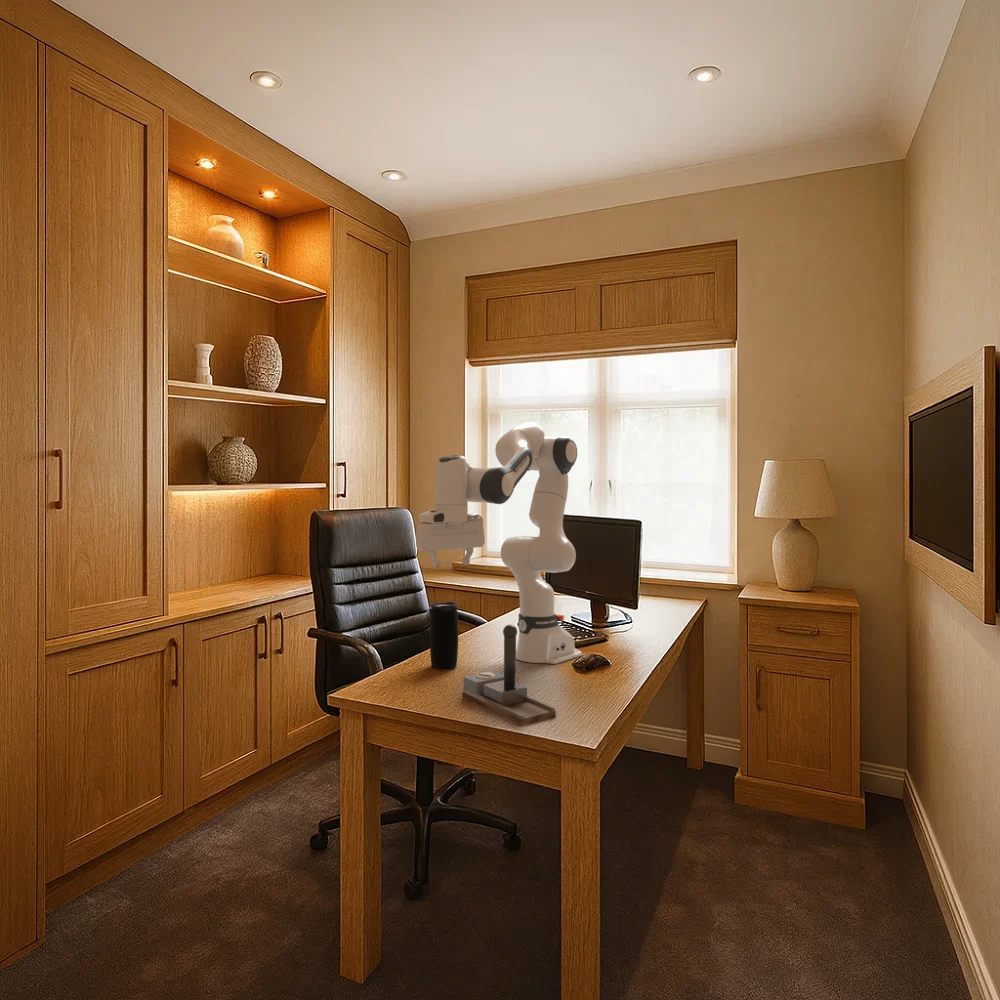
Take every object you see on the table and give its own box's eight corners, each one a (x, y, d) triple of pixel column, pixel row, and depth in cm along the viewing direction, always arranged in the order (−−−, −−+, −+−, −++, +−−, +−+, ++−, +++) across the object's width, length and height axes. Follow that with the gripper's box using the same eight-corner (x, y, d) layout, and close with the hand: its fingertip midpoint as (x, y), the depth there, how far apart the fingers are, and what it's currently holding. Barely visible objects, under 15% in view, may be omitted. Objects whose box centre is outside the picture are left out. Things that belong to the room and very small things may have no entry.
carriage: (508, 692, 183) (508, 618, 182) (527, 700, 176) (527, 624, 176) (483, 698, 178) (483, 622, 177) (501, 706, 172) (502, 628, 171)
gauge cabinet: (494, 685, 189) (494, 668, 189) (507, 690, 185) (507, 673, 184) (463, 691, 184) (463, 674, 183) (476, 697, 179) (476, 680, 179)
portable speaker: (453, 661, 218) (454, 600, 218) (461, 669, 210) (461, 605, 209) (426, 663, 216) (427, 601, 215) (433, 672, 207) (433, 606, 206)
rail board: (496, 690, 190) (496, 682, 190) (555, 716, 170) (555, 707, 170) (462, 697, 183) (462, 689, 183) (520, 726, 163) (520, 716, 163)
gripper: (476, 513, 198) (476, 561, 198) (413, 515, 186) (413, 567, 186) (489, 514, 192) (489, 564, 193) (424, 516, 180) (424, 569, 181)
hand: (451, 565), depth 189 cm, fingers open, 8 cm apart
